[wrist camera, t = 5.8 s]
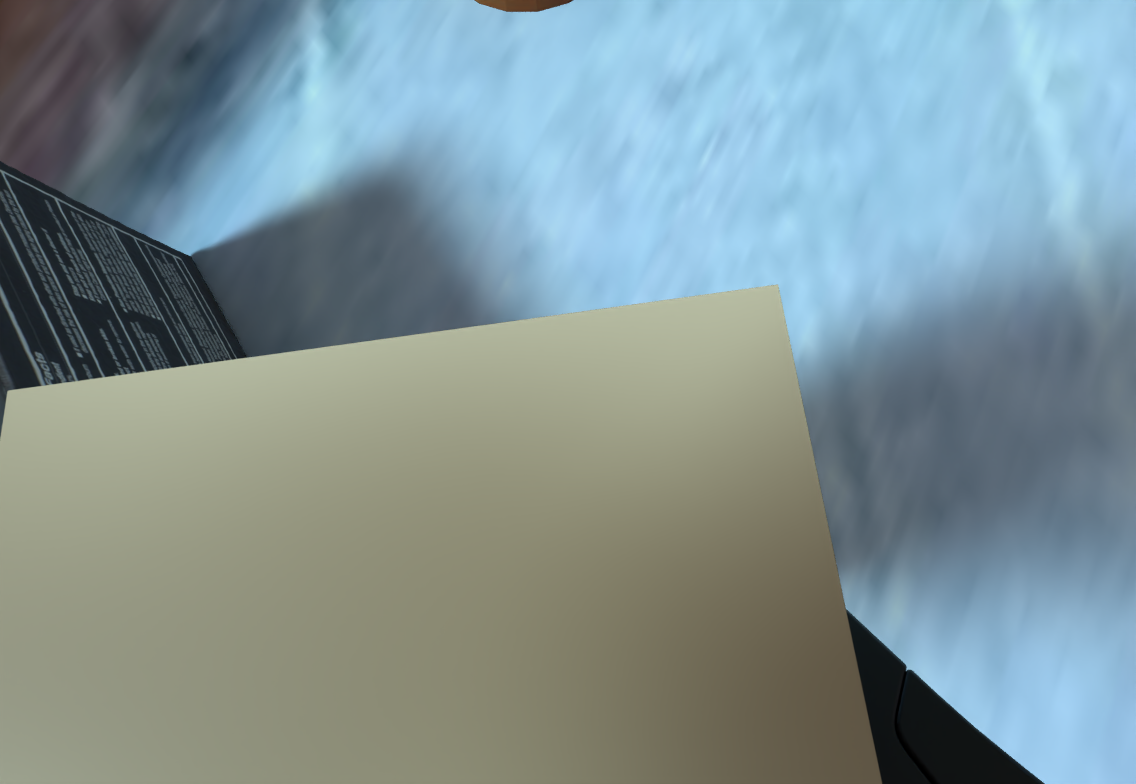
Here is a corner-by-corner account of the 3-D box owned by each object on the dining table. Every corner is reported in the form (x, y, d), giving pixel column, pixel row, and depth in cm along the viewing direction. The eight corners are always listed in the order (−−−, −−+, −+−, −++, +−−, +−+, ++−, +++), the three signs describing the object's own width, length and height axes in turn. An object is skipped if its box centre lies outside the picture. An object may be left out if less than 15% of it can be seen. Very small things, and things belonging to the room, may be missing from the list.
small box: (63, 340, 25) (-343, 229, 15) (193, 252, 25) (-120, 79, 15) (168, 561, 23) (-221, 613, 12) (311, 464, 23) (39, 436, 12)
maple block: (706, 710, 14) (1037, 1521, 2) (483, 728, 15) (-158, 1474, 3) (673, 483, 16) (778, 283, 4) (471, 505, 16) (8, 390, 4)
